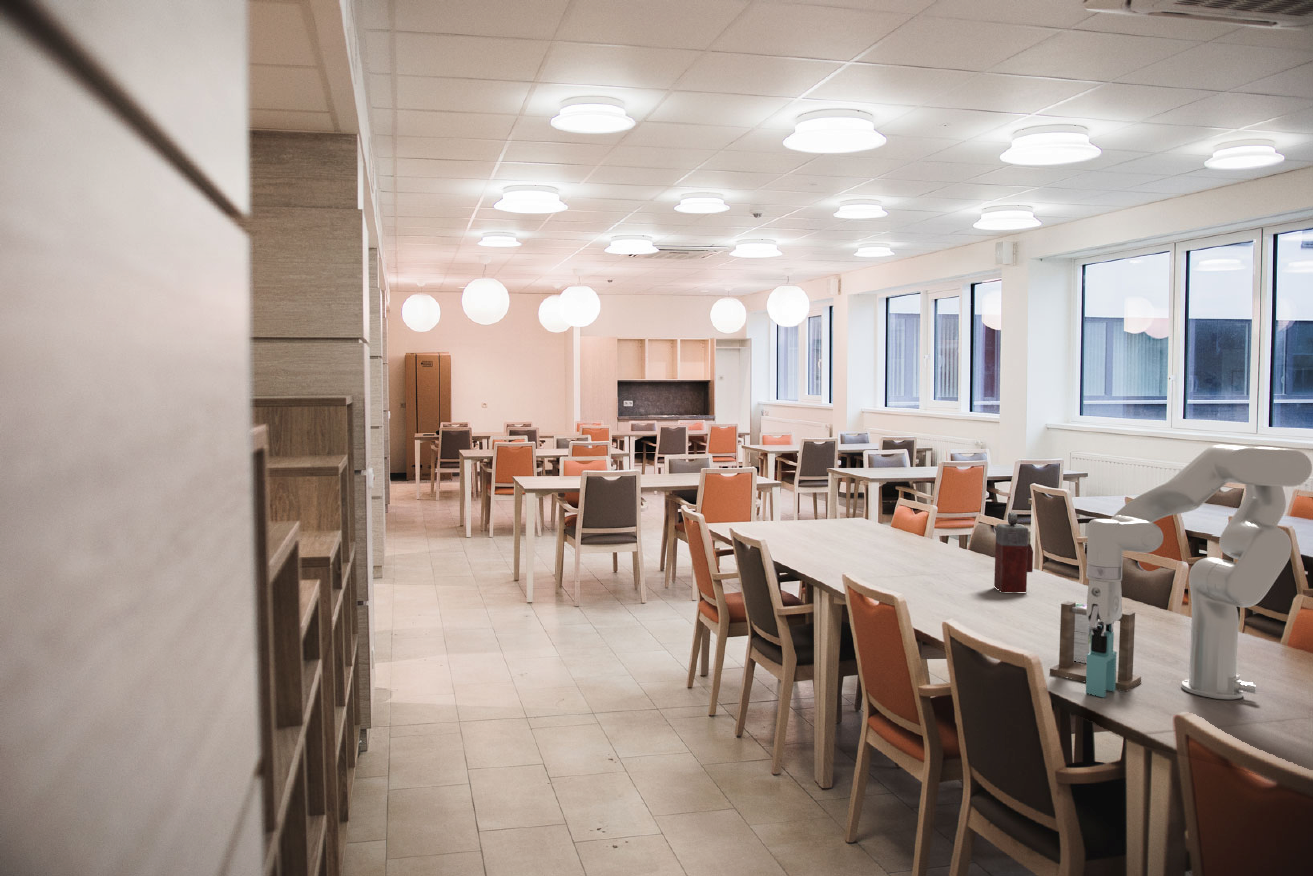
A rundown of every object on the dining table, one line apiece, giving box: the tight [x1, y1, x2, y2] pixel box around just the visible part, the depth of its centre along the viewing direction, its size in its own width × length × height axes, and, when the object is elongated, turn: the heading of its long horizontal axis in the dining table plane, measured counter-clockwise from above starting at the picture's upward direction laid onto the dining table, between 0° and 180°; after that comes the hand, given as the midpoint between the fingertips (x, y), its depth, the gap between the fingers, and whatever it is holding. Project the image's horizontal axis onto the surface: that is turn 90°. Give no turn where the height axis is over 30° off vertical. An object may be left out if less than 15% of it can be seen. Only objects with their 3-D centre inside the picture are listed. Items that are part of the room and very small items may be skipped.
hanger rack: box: [1049, 601, 1142, 692], centre depth 231 cm, size 18×10×18 cm, turn 45°
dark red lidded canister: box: [993, 512, 1034, 593], centre depth 335 cm, size 9×11×28 cm
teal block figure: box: [1085, 631, 1118, 698], centre depth 220 cm, size 4×7×14 cm, turn 135°
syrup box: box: [1073, 602, 1092, 665], centre depth 247 cm, size 6×6×14 cm
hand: (1101, 650), depth 219 cm, fingers closed on teal block figure, 3 cm apart
